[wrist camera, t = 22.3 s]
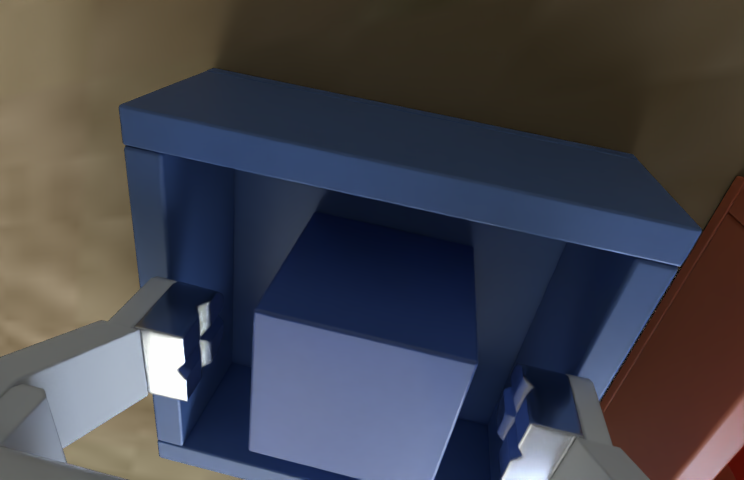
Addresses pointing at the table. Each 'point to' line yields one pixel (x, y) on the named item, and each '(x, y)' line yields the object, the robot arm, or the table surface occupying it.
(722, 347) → the red bin
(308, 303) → the blue block
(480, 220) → the blue bin
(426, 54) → the table surface
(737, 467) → the red block
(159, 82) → the table surface
